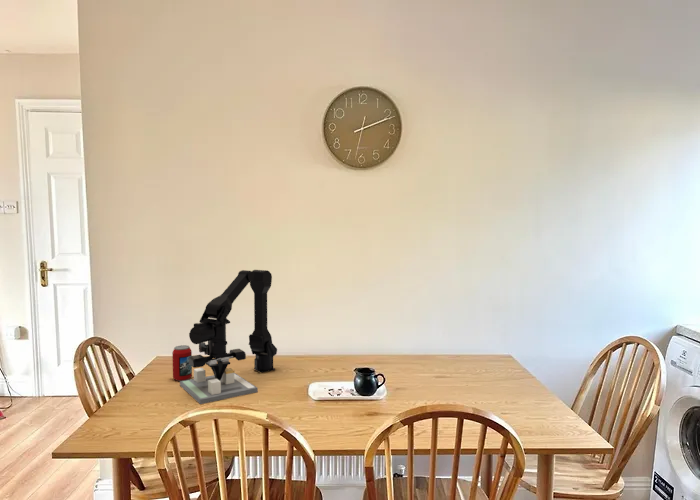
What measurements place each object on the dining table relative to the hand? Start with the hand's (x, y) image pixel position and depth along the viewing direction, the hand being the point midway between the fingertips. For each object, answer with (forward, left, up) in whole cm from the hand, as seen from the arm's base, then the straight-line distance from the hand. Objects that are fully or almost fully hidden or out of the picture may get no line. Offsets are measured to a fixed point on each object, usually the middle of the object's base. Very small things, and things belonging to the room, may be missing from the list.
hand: (218, 381), depth 175 cm
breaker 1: (+4, -7, -1) cm, 9 cm away
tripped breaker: (-4, 0, -1) cm, 4 cm away
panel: (0, 0, -2) cm, 2 cm away
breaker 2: (+4, +8, -1) cm, 9 cm away
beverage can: (+7, -18, -3) cm, 19 cm away
